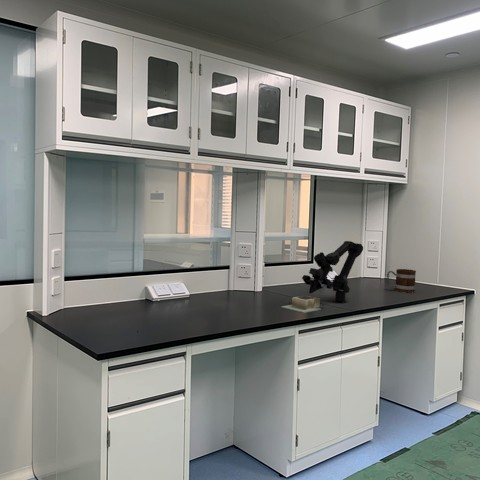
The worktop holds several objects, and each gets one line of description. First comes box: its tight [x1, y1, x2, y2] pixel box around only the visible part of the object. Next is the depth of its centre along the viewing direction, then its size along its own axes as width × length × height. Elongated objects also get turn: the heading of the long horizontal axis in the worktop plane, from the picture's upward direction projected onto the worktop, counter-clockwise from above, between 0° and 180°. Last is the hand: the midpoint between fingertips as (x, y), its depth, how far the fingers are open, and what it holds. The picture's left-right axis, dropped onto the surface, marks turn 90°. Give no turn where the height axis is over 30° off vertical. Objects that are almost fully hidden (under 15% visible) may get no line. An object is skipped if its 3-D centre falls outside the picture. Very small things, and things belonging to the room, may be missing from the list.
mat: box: [281, 304, 322, 314], centre depth 263 cm, size 15×16×1 cm
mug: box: [386, 268, 417, 294], centre depth 333 cm, size 20×14×15 cm
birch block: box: [291, 295, 321, 310], centre depth 265 cm, size 5×10×12 cm
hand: (309, 293), depth 267 cm, fingers closed
